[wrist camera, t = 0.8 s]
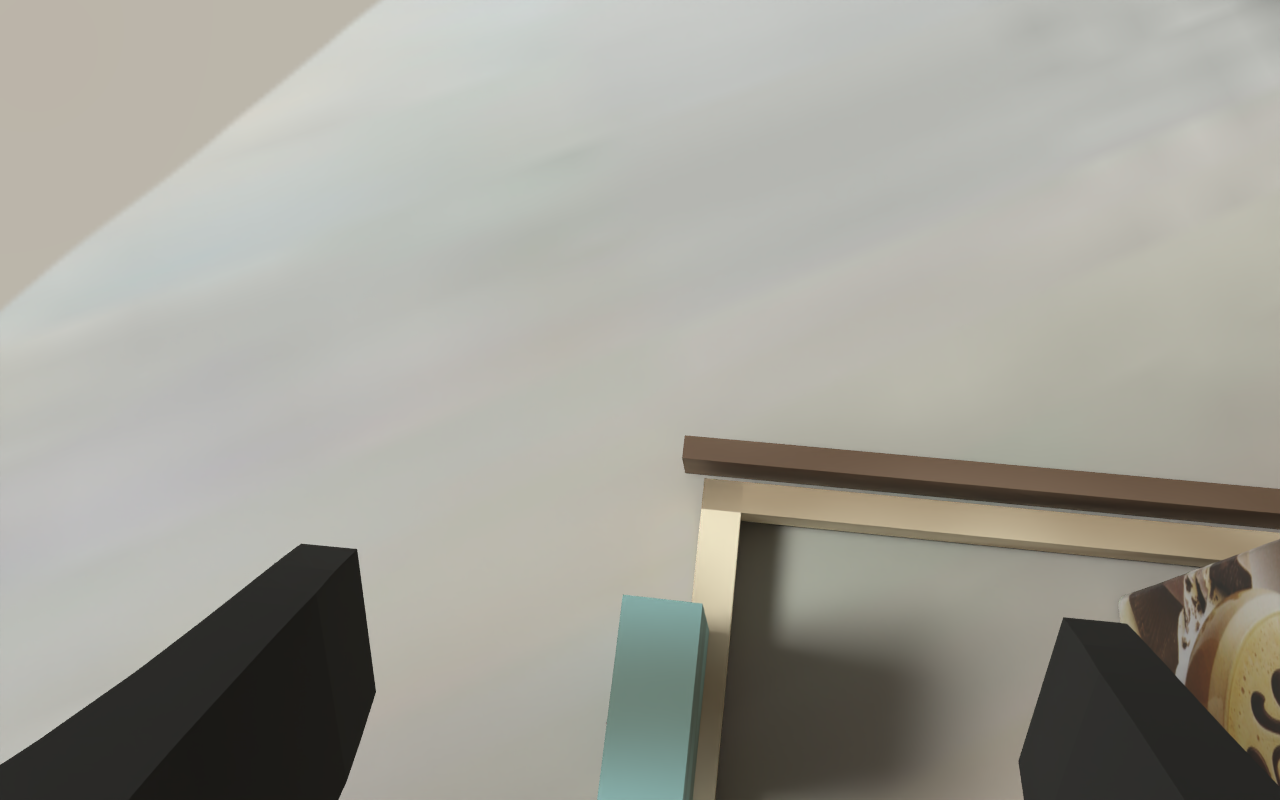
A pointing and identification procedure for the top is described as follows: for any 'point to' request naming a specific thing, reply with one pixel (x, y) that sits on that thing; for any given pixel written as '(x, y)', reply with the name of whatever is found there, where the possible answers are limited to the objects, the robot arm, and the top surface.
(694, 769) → the frame
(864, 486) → the lane frame
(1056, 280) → the top surface
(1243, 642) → the coffee box
